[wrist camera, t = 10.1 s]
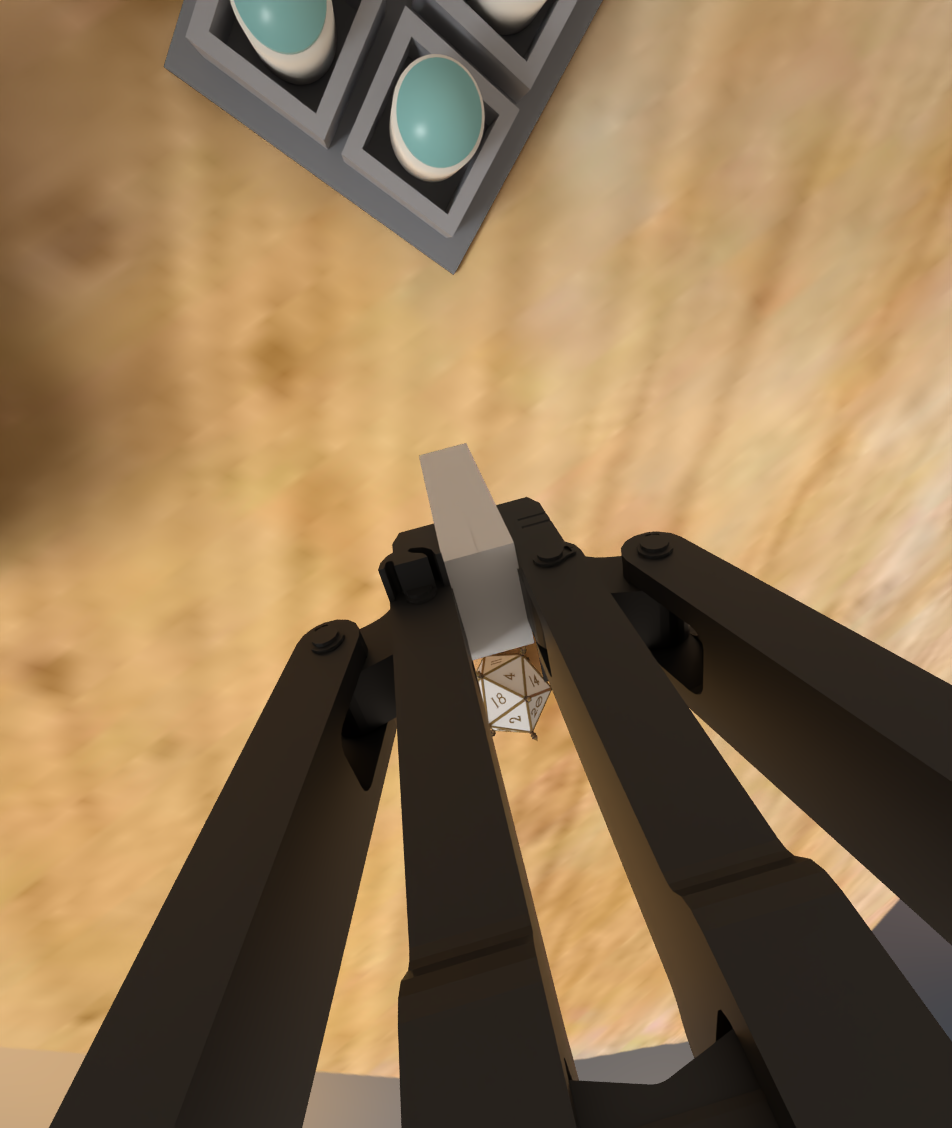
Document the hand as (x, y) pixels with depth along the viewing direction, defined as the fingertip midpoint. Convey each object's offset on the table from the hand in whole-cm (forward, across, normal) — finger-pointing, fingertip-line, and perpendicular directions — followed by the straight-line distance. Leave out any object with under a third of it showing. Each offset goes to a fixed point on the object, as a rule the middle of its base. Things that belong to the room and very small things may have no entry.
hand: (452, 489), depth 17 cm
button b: (+21, +4, +11) cm, 24 cm away
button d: (+23, -1, +17) cm, 29 cm away
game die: (+25, +1, -30) cm, 39 cm away
